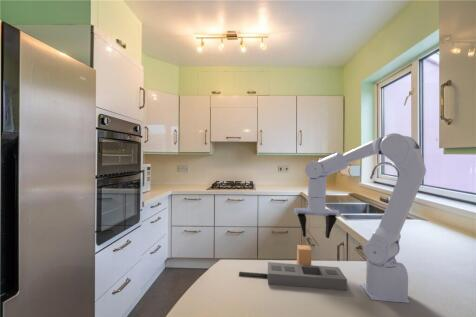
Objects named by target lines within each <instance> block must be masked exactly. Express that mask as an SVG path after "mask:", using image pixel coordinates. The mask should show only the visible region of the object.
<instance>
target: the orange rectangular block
mask: <svg viewBox="0 0 476 317" xmlns="http://www.w3.org/2000/svg"><path fill="white" fill-rule="evenodd" d="M296 246H297V247H296V264H300V265H312V248H311V247H310V245H304V244H297V245H296Z"/></svg>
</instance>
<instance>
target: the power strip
mask: <svg viewBox="0 0 476 317" xmlns="http://www.w3.org/2000/svg"><path fill="white" fill-rule="evenodd" d="M238 275H239V276H243V277H244V276H245V277H246V276H247V277H256V278H257V277H258V278H267V284H268V285H278V286H289V287H290V286H291V287H300V288H301V287H303V288H315V289H326V290H327V289H328V290H337V291H338V290H339V291H347V290H348V279H347V278H346V276H345V275H344V273H343V271H342V270H341V268H340V267H339V266H328V265H327V266H326V265H325V266H324V265H314V264H311V265H300V264H297V263H284V262H273V261H272V262H271V261H268V262H267V273H263V272H262V273H259V272H248V271H239V272H238Z"/></svg>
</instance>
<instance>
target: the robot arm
mask: <svg viewBox="0 0 476 317" xmlns="http://www.w3.org/2000/svg"><path fill="white" fill-rule="evenodd" d="M374 155H380V156H385V157H386V158H387V159H388V160H390V161H391V162H392V163H393V164H394V165H395V167H396V169H397V170H398V171H399V175H398V178H397V181H396V183H395V185H394V188H393V190H392V192H391V196H390V197H389V200H388V202H387V205H386V207H385V210H384V213H383V215H382V217H381V220H380V222H379V225H378V227H377V228H376V229H375V231H374V232H373V233H372V234H371V237H370V239H369V240H367V241H366V242H365V243H364V245H363V249H362V250H363V254H364V256H365V258H366V269H365V270H366V274H365V276H366V277H365V281H366V282H365V283H360V287H361V288H362V289H363V291H364V292H365V293H366V294H367V296H368V297H369V299H371V300H372V301H380V302H381V301H383V302H396V303H405V304H409V303H410V299H408V297H409V294H408V293H409V274H408V271H407V268H406V266H405V265H404V264H403V263H401V262H399V261H397V259H396V256H397V255H398V254H399V253H400V251H401V250H400V249H401V247H400V239H401V237H402V236H401V231H402V229H403V227H404V224H405V222H406V220H407V217H408V215H409V213H410V211H411V208H412V206H413V203H414V202H415V199H416V197H417V195H418V192H419V189H420V187H421V185H422V182H423V180H424V179H425V178H424V177H425V176H426V173H427V170H426V165H425V163H424V158H423V154H422V147H421V146H420V145H419V143H418V142H417V141H416V140H415V139H414V138H413V137H411V136H407V135H402V134H400V133H395V132H393V133H388V134H386V135H384V136H380V137H377V138H374V139H373V140H371V141H369V142H366V143H363V144H362V145H360V146H358V147H356V148H353V149H351V150H349V151H347V152H344V153H343V152H341V151H332V152H331V153H330V155H328V156H325V157H319V159H318V161H316V160H310V162H308V163H307V164H306V166H305V174H306V176H307V178H308V183H307V186H308V187H307V188H308V190H307V207H295V208H294V210H293V211H294V212H293V213H294V215H295V216H297V218H298V220H299V224H300V226H301V231H302V236H303V237H304V238H306V237H307V236H306V234H307V231H306V230H307V229H306V227H307V217H306V216H324V217H325V238H326V239H329V238H330V235H331V231H332V229H333V227H334V225H335V223H336V222H337V219H338V218H339V217H340V211H339V210H338V209H330V208H326V196H327V193H326V192H327V178H328V176H329V175H332V174H335V173H337V172H341V171H343V170H346V169H347V168H348V167H349V164H351V163H353V162H356V161H359V160H362V159H365V158H368V157H371V156H374ZM337 217H338V218H337Z"/></svg>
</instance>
